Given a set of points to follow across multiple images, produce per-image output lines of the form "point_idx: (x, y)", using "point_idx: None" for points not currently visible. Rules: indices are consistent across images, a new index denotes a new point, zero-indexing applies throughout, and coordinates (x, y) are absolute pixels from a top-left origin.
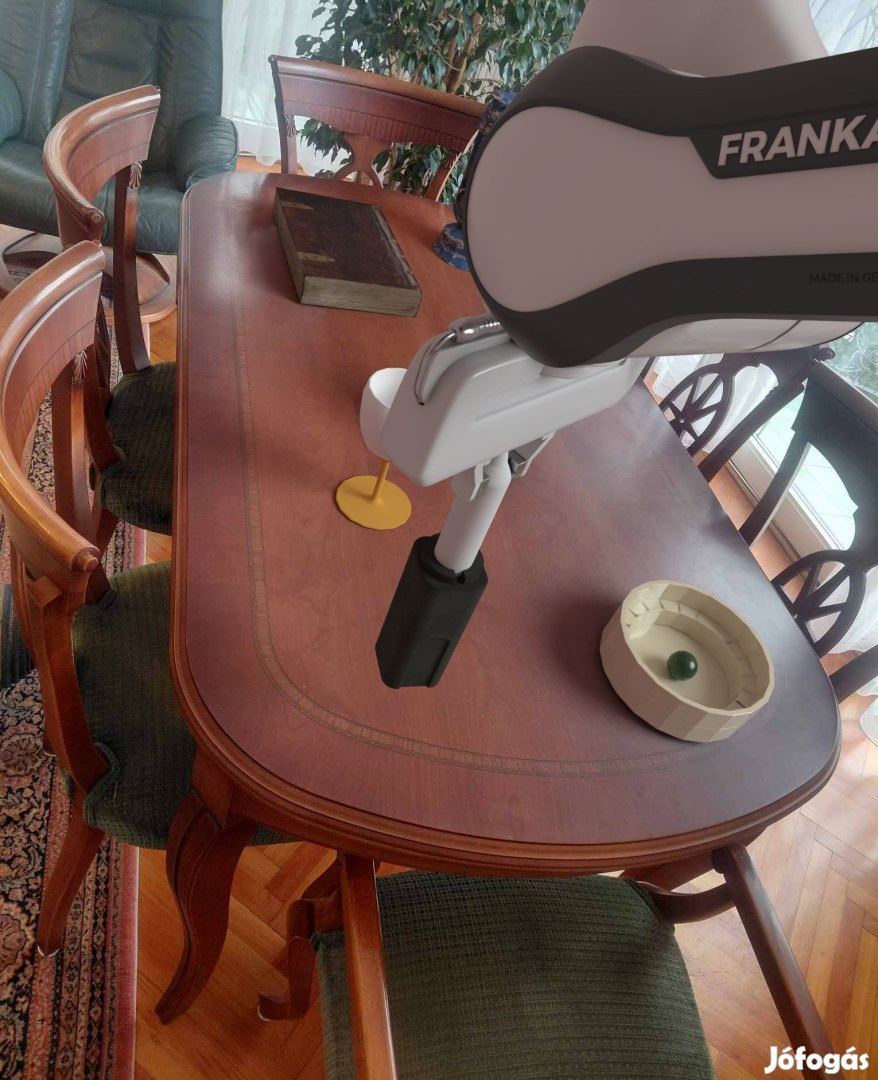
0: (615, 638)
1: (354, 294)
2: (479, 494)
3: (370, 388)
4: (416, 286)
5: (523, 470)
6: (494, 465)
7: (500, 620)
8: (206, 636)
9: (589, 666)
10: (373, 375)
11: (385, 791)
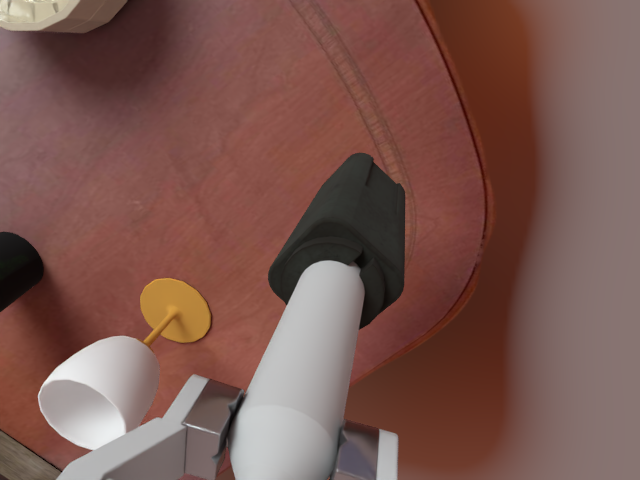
0: (90, 8)
1: (7, 458)
2: (361, 432)
3: None
4: None
5: (198, 397)
6: None
7: (176, 138)
8: (408, 326)
9: (136, 19)
10: None
11: (435, 115)
